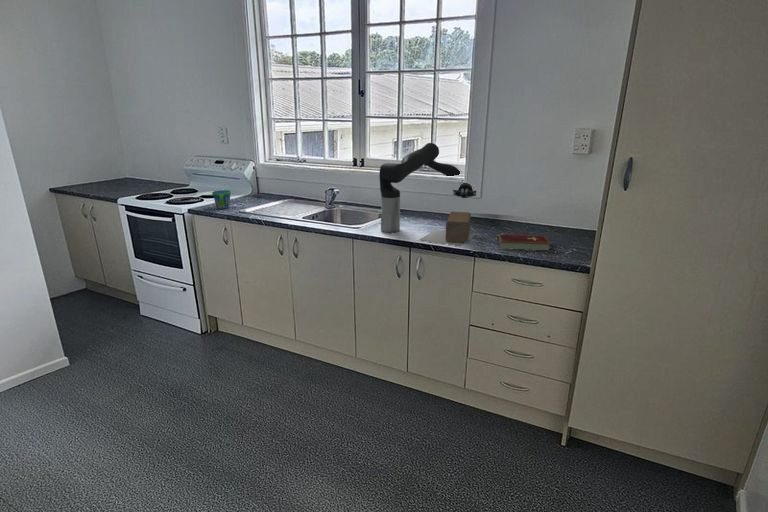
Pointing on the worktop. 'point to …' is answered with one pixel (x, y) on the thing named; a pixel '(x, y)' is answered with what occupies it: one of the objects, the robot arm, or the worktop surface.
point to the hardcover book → (523, 242)
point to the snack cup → (222, 198)
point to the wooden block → (458, 227)
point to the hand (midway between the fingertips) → (463, 196)
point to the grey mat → (441, 237)
